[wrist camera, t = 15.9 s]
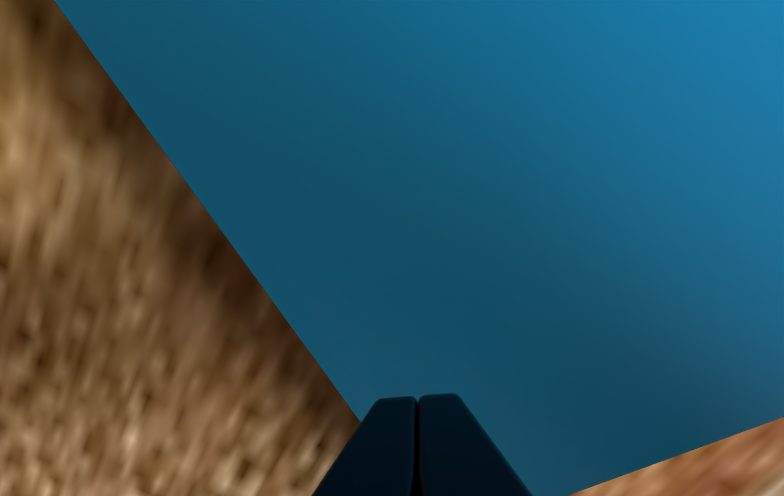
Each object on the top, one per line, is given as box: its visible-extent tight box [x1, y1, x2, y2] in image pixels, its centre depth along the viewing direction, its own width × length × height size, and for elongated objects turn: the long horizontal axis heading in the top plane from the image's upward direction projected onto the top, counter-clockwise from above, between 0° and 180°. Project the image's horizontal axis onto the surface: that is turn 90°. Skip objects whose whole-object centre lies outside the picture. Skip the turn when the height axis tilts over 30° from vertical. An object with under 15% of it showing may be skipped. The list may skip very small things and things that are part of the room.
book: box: [54, 0, 784, 496], centre depth 17 cm, size 17×4×25 cm
